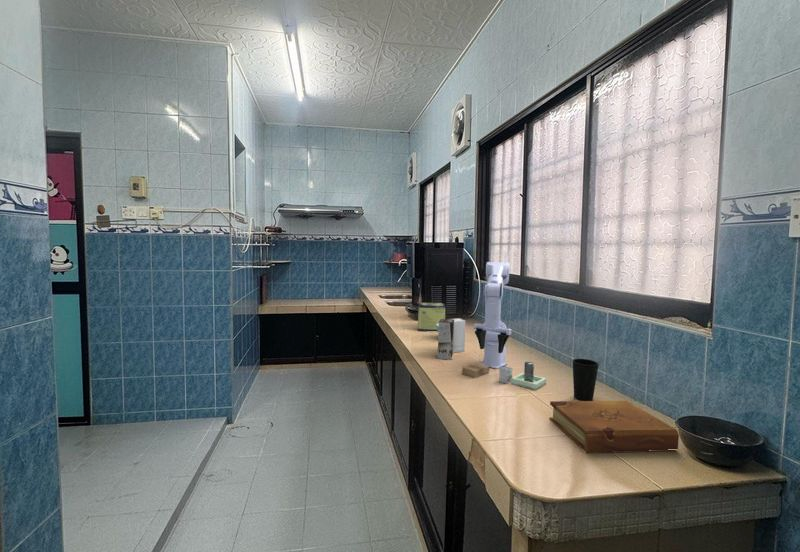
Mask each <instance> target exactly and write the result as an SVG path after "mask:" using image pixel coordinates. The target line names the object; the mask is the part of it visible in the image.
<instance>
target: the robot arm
mask: <svg viewBox="0 0 800 552" xmlns="http://www.w3.org/2000/svg"><path fill="white" fill-rule="evenodd" d="M510 264H511V263H510V262H496V261H495V262H493V261H487V262H486V264H485V276H486V277H485V278H486V284H485V285H484V293H483V294H484V303H485V305H484V306H485V307H484V310H485V311H484V322H483V324H482V323H474V324H473V330H475V331H474V335H475V336H476V338H477V340H478V344H479V349H480V350H483V352H484V354H483V361H482V362H480V363H479V364H482V365H485V366H489V368H492V369H496V370H497V369H500V368H501V367H504V366H506V365H508V362H506V358H507V357H506V355H507V347H506V343H507V341H508V339H509V338H510V336H511V335H512V329H511V328H507V325H506V324H505V323H504V322H503V321H502V320H501V314H502V313H501V312H502V299H503V294H504V287H505V285H507V284H509V280H510V269H511V268H510V267H511V265H510Z"/></svg>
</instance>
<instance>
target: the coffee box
mask: <svg viewBox="0 0 800 552" xmlns="http://www.w3.org/2000/svg"><path fill="white" fill-rule="evenodd" d="M452 319H453V318H447V319H446V318H445V319H440V321H439V333H437V336H438V337H437V338H438V339H437V359H440V360H449V361H450V360H452V359H453V356H454V353H453V342H454V320H452Z"/></svg>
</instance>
